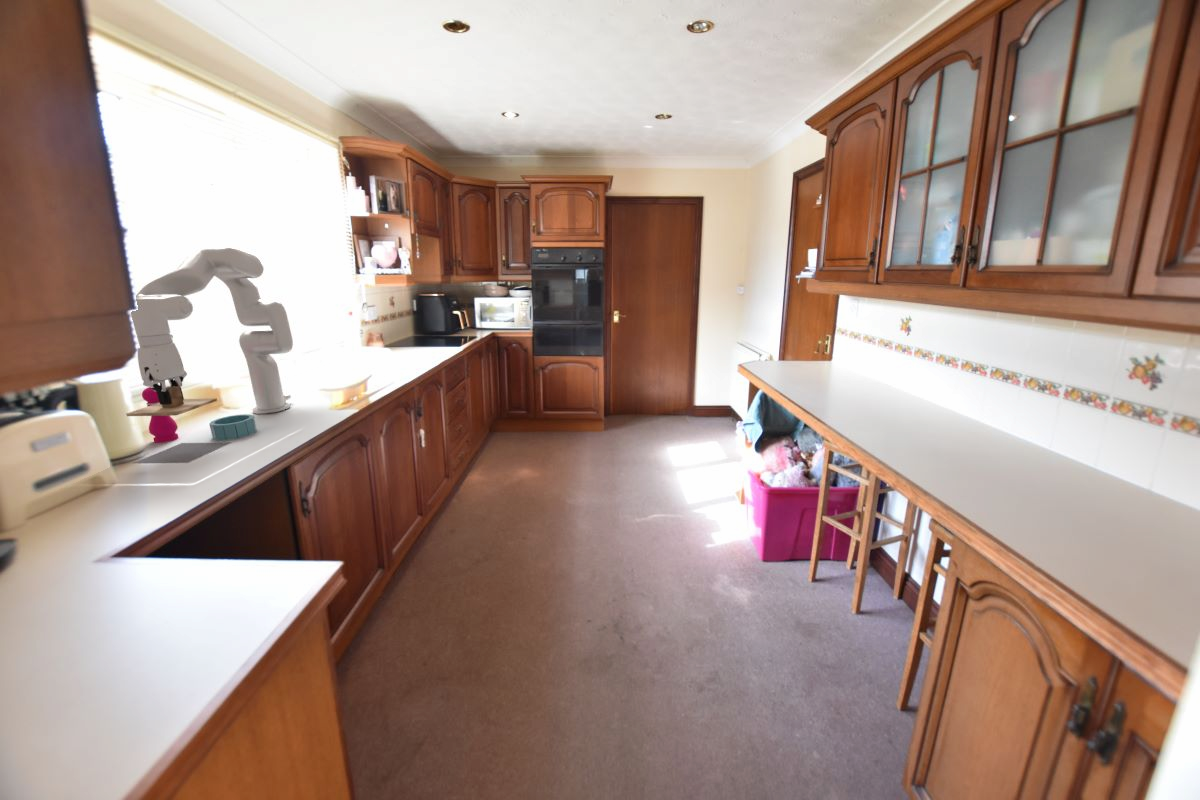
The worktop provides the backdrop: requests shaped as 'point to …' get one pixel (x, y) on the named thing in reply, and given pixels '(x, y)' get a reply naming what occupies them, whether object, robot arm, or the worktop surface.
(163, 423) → the pepper mill
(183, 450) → the mat
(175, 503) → the worktop surface
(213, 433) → the bowl
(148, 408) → the lid
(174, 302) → the robot arm
